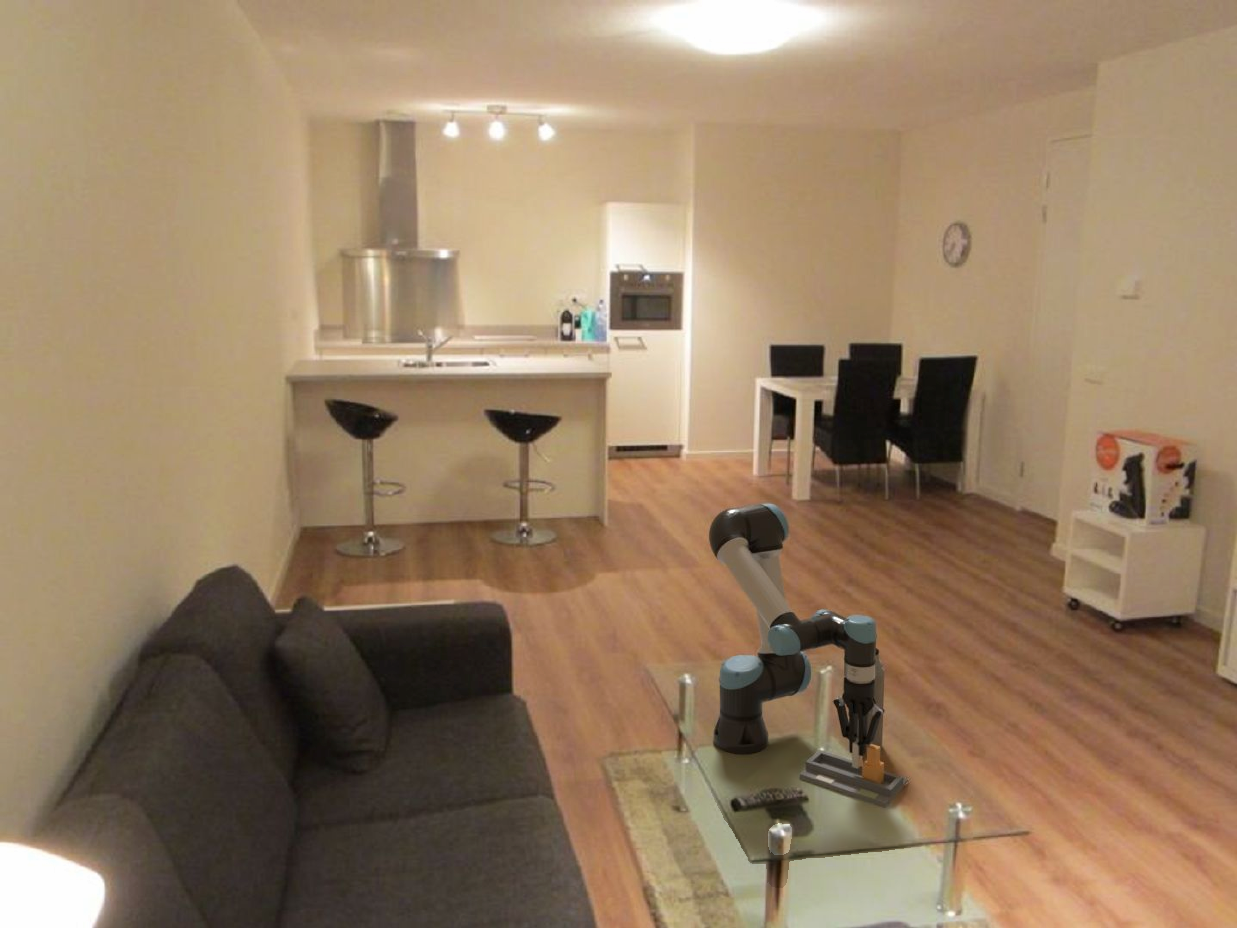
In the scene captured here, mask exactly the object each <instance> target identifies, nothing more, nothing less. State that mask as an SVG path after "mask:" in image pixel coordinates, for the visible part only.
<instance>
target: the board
mask: <svg viewBox="0 0 1237 928" xmlns="http://www.w3.org/2000/svg"><path fill="white" fill-rule="evenodd" d="M799 779H801V780H803V781H805V782H810V783H813V784H814V785H815V784H816V785H818V786H821V787H824V788H827V789H830V790H833V791H835V792H838V793H841V794H844V795H846V796H850V797H853V798H855V799H859V800H860V801H864V802H867V803H870V804H871V805H872V804H873V805H876V806H879V807H881V808H887V806H888V805H889V804H890V803H891V802H892V801H893V800H894V799H895V798H896V797H897V795H899V793H900V792H901V791H903V789H904V788H905V787H906V786H905V784H906V783H907V782H908V783H909V779H908V778H907V777H904V776H902V775H898V774H895V773H892V772H889V771H886V770H884V781H883V782H882V783H881V784H879V783H876V782H873V781H870V780H867V779H864V778H862V765H861V766H860V767H859V768H858V769H857V768H854V767H852V759H848V758H845V757H842V756H840V755H836V754H832V753H830V752H827V751H823V750H820V749H819V750H818V751H816V752H815V753H814V754H813V755H811V757H809V759H807V760H806V761H805V768H804V770H802V771H801V772H799ZM904 786H905V787H904ZM903 787H904V788H903ZM900 790H901V791H900ZM899 791H900V792H899Z"/></svg>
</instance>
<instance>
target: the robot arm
mask: <svg viewBox="0 0 1237 928" xmlns="http://www.w3.org/2000/svg"><path fill="white" fill-rule="evenodd" d="M789 532H790V528H789V522H788V520H787V517H786V515H785V513H784V512H783V510H782V509H781V508H780V507H779V506H778V505H776V504H774V503H757V504H752V505H747V506H740V507H731V508H727V509H724V510H722V511H720V512H719V513H718V514H717V515H716V516H715V517H714V518H713V520H712V521H711V524H710V527H709V530H708V541H709V545H710V550H711V551H712V553H713V555H714V557H715V558H716V559H717V561H718V563H720V564H723V565H725V566H726V568H727V569H728V570H729V572H730V574H731V575H732V576H733V578H734V579H735V581H736V582H737V584H738V586H739V587H740V588H741V590H742V591H743V592H744V594H745V595H746V597H747V598H748V600H749V601H750V603H751V604H752V605H753V607H754V609H755V610H756V617H757V621H758V623H757V624H758V629H759V634H760V640H761V641H760V642H761V644H760V646H759V648H758V649H757V650H756V651H757V656H756V655H753V654H746V655H743V654H739V655H734V656H731V657H729V658H727V659H726V660H724V662H722V664H721V666H720V668H719V678H718V682H719V715H718V718H717V721H716V724H715V726H714V730H713V743H714V745H715V746H716V747H718V748H719V749H721V750H723V751H725V752H729V753H732V754H739V755H740V754H742V755H744V754H748V755H749V754H753V753H754V754H755V753H758V752H761V751H763V750H765V748H766V747H767V746H768V745H769V732H768V729H767V726H766V723H765V720H764V717H763V703H767V702H770V701H771V702H772V701H774V700H777V699H781V698H786V697H792V696H795V695H796V694H799V693H802V692H804V691H805V690H806V689H807V688H808V686H809V685H810V682H811V681H812V666H811V662H810V659H809V658H808V656H807V654H806V653H805V651H809V650H815V649H818V648H822V647H826V646H827V647H828V646H831V645H832V646H835V647H836V648H839V649H841V650H844V651H843V652H844V657H843V661H844V662H843V666H844V667H843V676H844V677H843V693H842V695H841V696H837V697H836V698H835V699H833V700H832V703H833V704H834V706H835V708H836V713H837V716H838V717H837V718H838V722H839V726H840V732H841V736H842V737H843V738H846V739H847V740H848V742H849V743H848V744H849V745H848V746H849V748H848V749H849V750H848V751H849V753H850V754H852V756H851V760H852V767H854V768H857V769H858V768H859V767H860V766H861V765H862V764H863V757H864V756H865V755H866V754H867V753H866V744H870V743H871V742H872V741H873V740H874V737H875V734H876V730H877V727H878V723H879V720H880V717H881V715H882V714H883V715H884V713H885V711H886V710H885V709H884V707H883V708H881V709H880V708H879V707H878V706H877V705H876V701H875V699H874V693H875V680H874V678H875V657H876V648H877V639H878V638H877V637H878V635H877V623H876V621H875V620H874V618H873V617H870V616H869V615H863V614H853V615H849V616H848V617H845V616H843V615H841V614H839V613H837V612H835V611H833V610H828V609H825V608H824V609H819V610H817V611H816V612H815V613H813V614H812V616H811V617H810V618H806V619H801V620H800V619H799V617H798V616H797V615H796V614H795V612H794V611H793V610H792V608H791V606H790V605H789V603H788V602H787V599H786V594H785V588H784V581H783V575H782V574H783V573H782V567H781V561H780V555H781V553H782V552H783V551H784V546H783V545H784V544H783V543H784V542H785V541H786V540H787V539H788V534H790V533H789ZM846 707H847V708H846ZM847 709H848V712H847ZM871 709H873V715H874V716H873V717H872V719H871V723H870V726H869V730H868V733H867V717H868V712H869V711H870V710H871ZM858 719H859V733H858V735H857V730H858ZM857 737H858V739H857V740H856V738H857Z"/></svg>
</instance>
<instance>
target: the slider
mask: <svg viewBox="0 0 1237 928" xmlns="http://www.w3.org/2000/svg"><path fill="white" fill-rule="evenodd" d="M884 771H885V762H883V761H881V750H880V746H877V745H873V744H871V745H870V746H869V747H867V753H866V760H865V761H864V762H862V778H864V779H867V780H870V781H873V782H876V783H879V784H881V783H882V782H883V781H884Z"/></svg>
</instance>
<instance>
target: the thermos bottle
mask: <svg viewBox="0 0 1237 928" xmlns="http://www.w3.org/2000/svg"><path fill="white" fill-rule="evenodd" d="M879 653H880V650H879V648H877V647H876V657H875V678H874V680H875V693H874V699H875V701H876V705H877V706H878V707H879V708H880V709H881V708H883V709H884V697H885V695H884V693H885V672H886V671H885V668H883V666H884V664H883V661H882V660H881V659H880V654H879ZM873 716H874V715H873V709H871V710H870V711H869V712H868V717H867V733H868V730H869V726H870V723H871V719H872V717H873ZM883 728H884V713H883V714H882V715H881V717H880V720H879V723H878V727H877V730H876V734H875V737H874V740H873V741H872V742H871V743H870V744H866V753H865V754H867V747H869V746H870V745H871V744H873V745H877V746H880V751H881V750H882V748H883V732H884V731H883ZM858 733H859V719H858V730H857V735H858ZM857 739H858V737H857V738H856V740H857Z"/></svg>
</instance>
